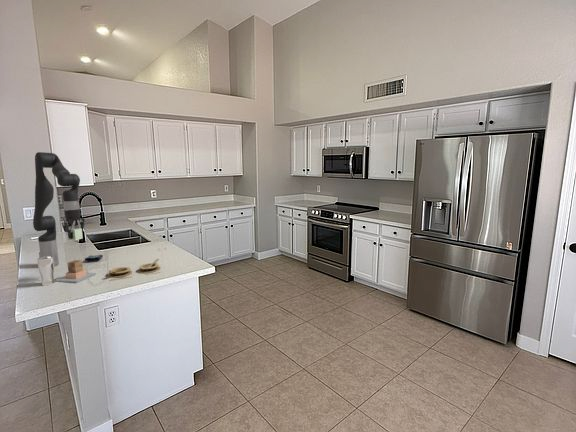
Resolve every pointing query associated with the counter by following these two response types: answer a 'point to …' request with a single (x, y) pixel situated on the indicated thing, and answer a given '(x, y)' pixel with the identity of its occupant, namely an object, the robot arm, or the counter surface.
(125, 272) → the tableware set
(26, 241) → the counter surface
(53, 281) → the beer glass
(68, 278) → the plate
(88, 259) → the purple clover wallet
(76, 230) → the block
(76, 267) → the block
